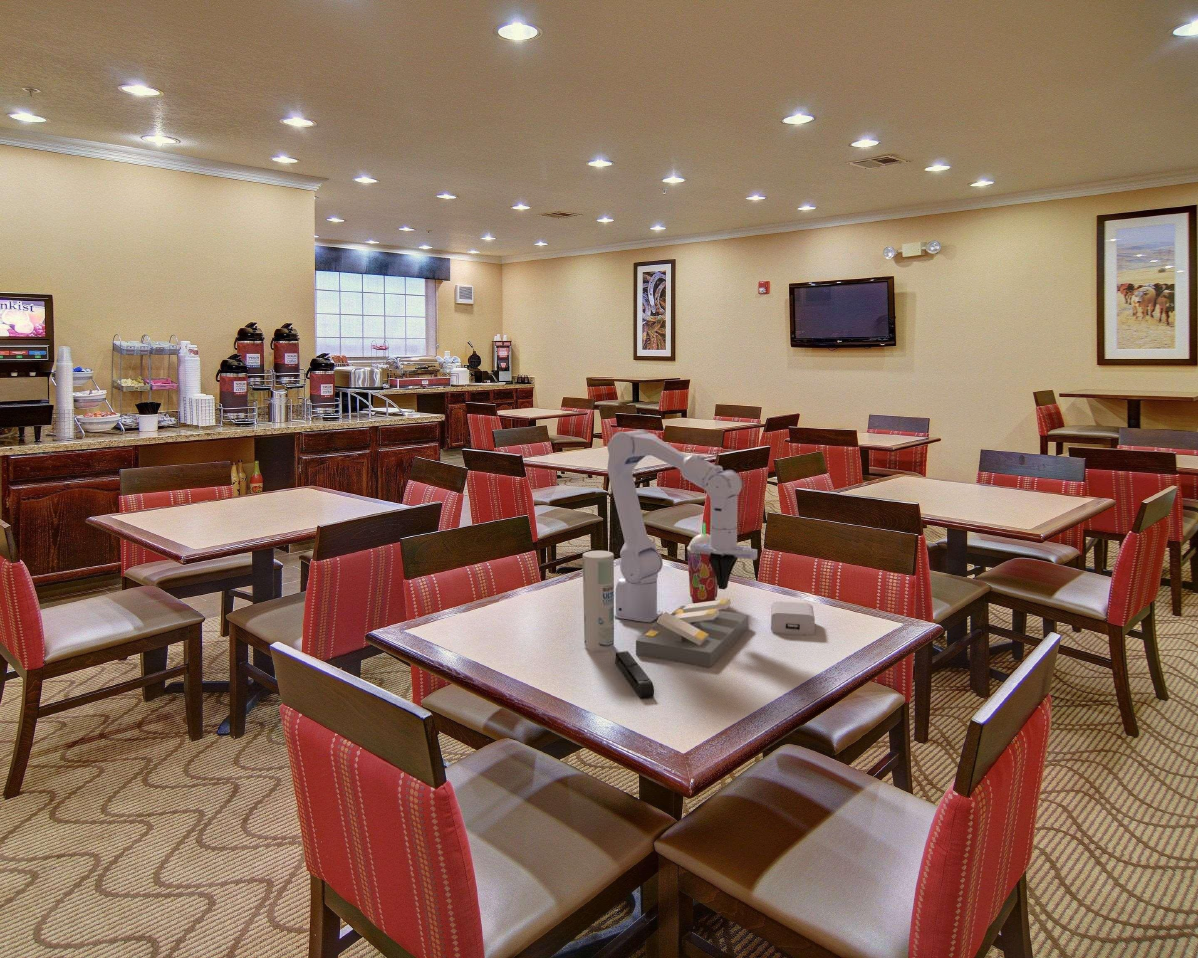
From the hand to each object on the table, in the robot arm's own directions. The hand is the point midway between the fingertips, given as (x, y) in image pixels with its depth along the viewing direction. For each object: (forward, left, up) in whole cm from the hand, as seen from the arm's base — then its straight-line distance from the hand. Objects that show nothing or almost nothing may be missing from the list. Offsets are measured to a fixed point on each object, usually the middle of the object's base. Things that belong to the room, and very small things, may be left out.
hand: (722, 588), depth 165 cm
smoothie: (-12, +21, -11) cm, 27 cm away
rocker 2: (-4, -7, -6) cm, 10 cm away
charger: (+12, +14, -11) cm, 21 cm away
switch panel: (-4, -7, -10) cm, 13 cm away
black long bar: (-7, -32, -11) cm, 34 cm away
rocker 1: (-4, -15, -6) cm, 16 cm away
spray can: (-21, -19, -11) cm, 30 cm away
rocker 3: (-4, +1, -6) cm, 7 cm away
